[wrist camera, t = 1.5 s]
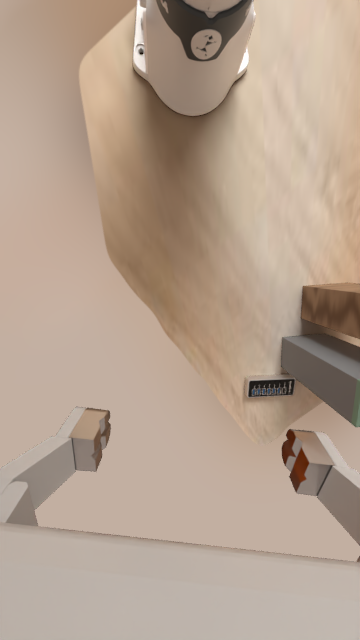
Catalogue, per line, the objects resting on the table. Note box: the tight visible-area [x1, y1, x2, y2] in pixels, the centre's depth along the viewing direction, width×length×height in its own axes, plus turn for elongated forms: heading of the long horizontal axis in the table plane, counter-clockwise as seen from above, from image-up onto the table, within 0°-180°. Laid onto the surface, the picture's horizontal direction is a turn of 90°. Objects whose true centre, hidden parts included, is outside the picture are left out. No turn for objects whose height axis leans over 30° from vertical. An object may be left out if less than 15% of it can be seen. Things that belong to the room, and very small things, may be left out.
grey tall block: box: [281, 334, 360, 427], centre depth 41 cm, size 7×10×20 cm
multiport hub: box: [244, 374, 296, 398], centre depth 51 cm, size 4×11×2 cm, turn 90°
